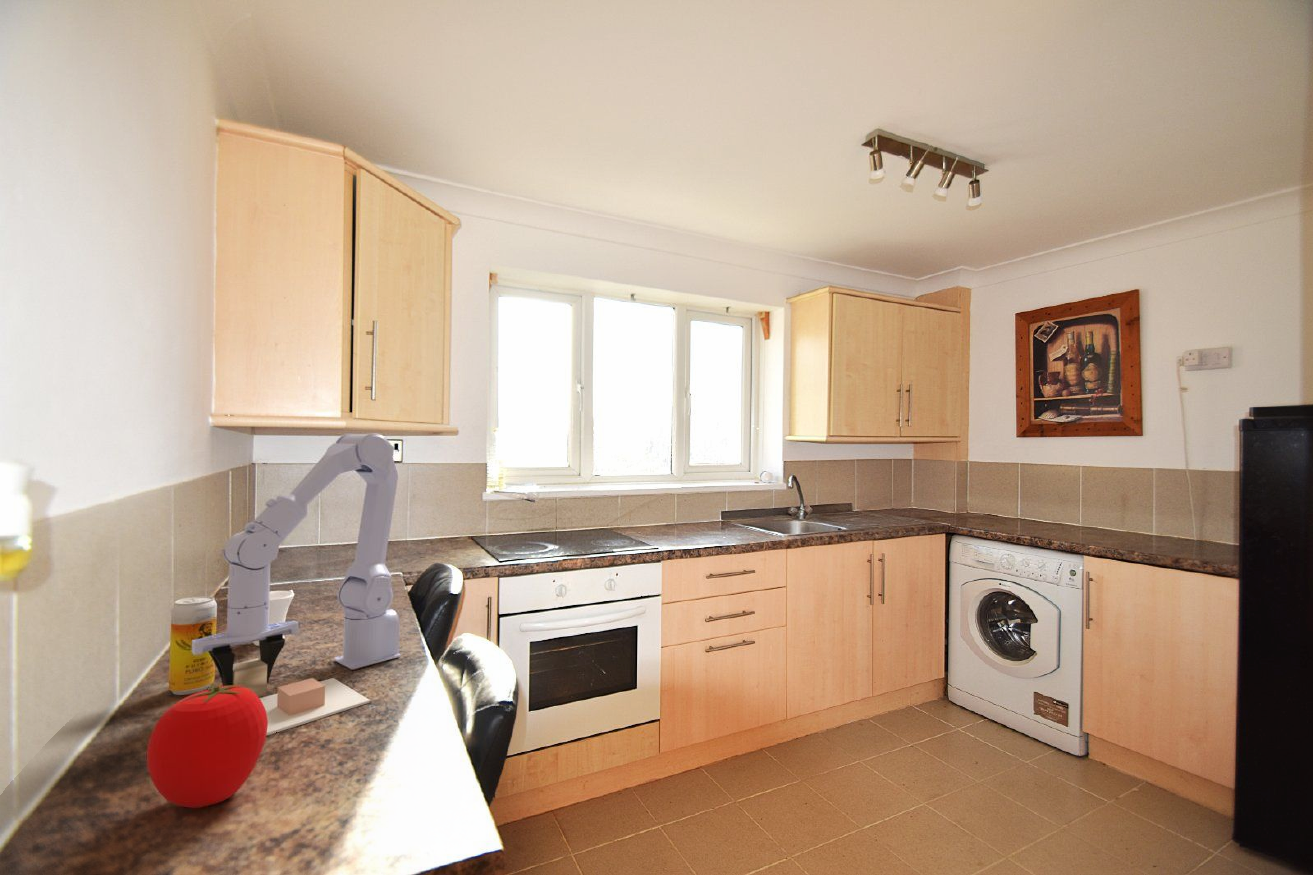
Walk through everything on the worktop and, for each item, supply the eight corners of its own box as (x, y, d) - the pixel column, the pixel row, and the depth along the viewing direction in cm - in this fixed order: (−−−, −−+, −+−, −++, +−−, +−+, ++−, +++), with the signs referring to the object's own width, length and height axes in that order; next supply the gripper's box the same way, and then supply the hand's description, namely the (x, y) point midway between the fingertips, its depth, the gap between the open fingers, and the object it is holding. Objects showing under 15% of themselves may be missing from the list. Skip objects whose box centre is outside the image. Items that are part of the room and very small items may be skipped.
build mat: (333, 680, 103) (333, 678, 103) (369, 702, 94) (369, 700, 94) (224, 710, 91) (224, 708, 91) (254, 739, 82) (254, 736, 82)
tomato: (168, 843, 60) (172, 718, 61) (130, 807, 66) (134, 694, 66) (285, 790, 70) (288, 682, 70) (242, 763, 76) (245, 664, 76)
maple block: (257, 687, 99) (258, 658, 99) (266, 695, 97) (267, 664, 97) (225, 696, 96) (226, 665, 96) (234, 703, 93) (235, 672, 93)
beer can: (188, 697, 95) (192, 605, 95) (158, 694, 96) (162, 603, 97) (223, 683, 101) (226, 596, 101) (194, 680, 102) (197, 594, 103)
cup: (302, 639, 125) (304, 592, 125) (254, 651, 117) (255, 601, 117) (282, 632, 129) (283, 587, 130) (234, 643, 122) (235, 595, 122)
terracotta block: (311, 696, 95) (312, 678, 95) (324, 705, 92) (325, 686, 92) (277, 706, 91) (277, 687, 91) (289, 716, 88) (289, 696, 88)
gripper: (288, 592, 105) (286, 668, 104) (187, 608, 93) (184, 694, 93) (304, 599, 100) (301, 678, 100) (199, 617, 89) (196, 706, 89)
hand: (246, 686), depth 96 cm, fingers closed on maple block, 4 cm apart
